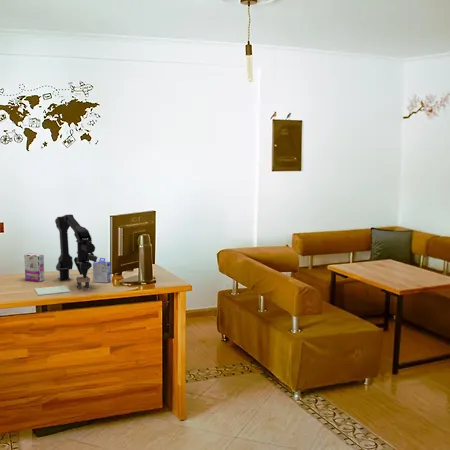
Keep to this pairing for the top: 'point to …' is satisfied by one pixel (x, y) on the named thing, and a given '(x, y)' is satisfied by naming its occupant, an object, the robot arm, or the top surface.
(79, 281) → the walnut stool
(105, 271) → the ink cartridge box
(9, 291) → the top surface
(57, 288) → the felt mat
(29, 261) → the candy bar box
